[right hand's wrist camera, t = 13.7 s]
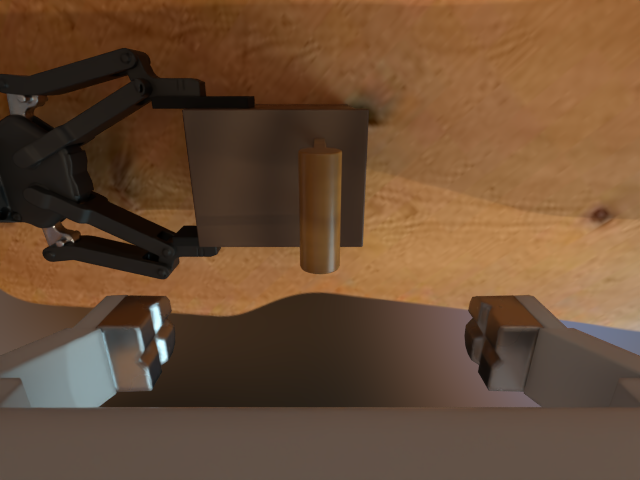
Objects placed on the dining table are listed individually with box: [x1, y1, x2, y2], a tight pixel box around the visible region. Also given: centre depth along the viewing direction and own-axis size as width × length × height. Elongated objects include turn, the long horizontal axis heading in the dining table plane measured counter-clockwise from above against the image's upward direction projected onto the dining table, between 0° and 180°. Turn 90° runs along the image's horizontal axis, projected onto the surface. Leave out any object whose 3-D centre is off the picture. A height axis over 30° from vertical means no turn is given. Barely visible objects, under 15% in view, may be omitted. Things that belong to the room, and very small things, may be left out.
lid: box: [182, 109, 369, 274], centre depth 23 cm, size 12×9×9 cm
